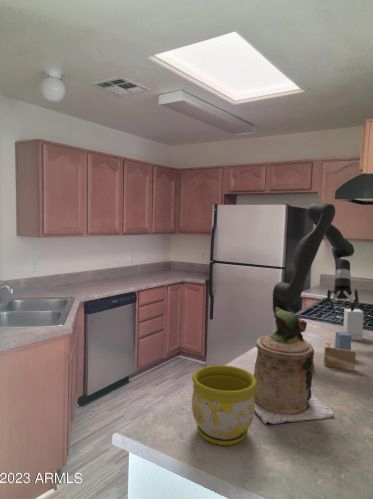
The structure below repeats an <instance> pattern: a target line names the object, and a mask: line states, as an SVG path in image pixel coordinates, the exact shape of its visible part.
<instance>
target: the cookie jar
mask: <svg viewBox="0 0 373 499" xmlns="http://www.w3.org/2000/svg"><path fill="white" fill-rule="evenodd" d="M294 313H295V312H294ZM294 313H292V312H287V311H283V310H282V309H280V308H276V311H275V314H276V320H275V322H276V325H277V331H276V332H274V333H273V332H272V333H273V334H272V335H271V334H270V335H264V336H261V337H258V338H257V340H256V342H255V346H256V349H257V353H256V359H255V364H254V371H253V376H254V377H255V378H256V382H257V384H256V387H255V393H254V397H255V413H256V414H257V416H259V417H260V419H261V421H262V423H263V424H264V425H266V424H267V423H270V424H274V425H276V424H277V425H278V424H282V423H286V422H288V423H293V422H303V421H310V420H320V419H321V420H322V419H323V420H324V419H328V418H329V419H330V418H332V417H333V416H334V410H332V408H331V407H329V406H328V405H327V404H325V403H323V402H322V401H321V400H320V399H319V398H318V397H317V396H315V395H314V394H312V389H311V388H312V380H313V375H314V373H315V362H314V355H315V350H314V347H313V345H312V343H310V342H308V341H306V340H305V339H304V336H303V334H302V333H304V332H306V329H307V326H308V325H307V324H308V323H307V321H305V319H299V317H298V315H296V313H295V314H294Z"/></svg>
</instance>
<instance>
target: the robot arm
mask: <svg viewBox="0 0 373 499" xmlns="http://www.w3.org/2000/svg"><path fill="white" fill-rule="evenodd" d="M335 215H336V207H335V205H333V204H332V203H326V202H325V203H323V202H313V203H311V204H310V205H309V207H308V209H307V216H308V219H309V220H310V222H312V223H313V225H315V227H314V228H313V229H312V231H310V232H309V233H308V234H306V235H305V236H304V237H302V239H301V240H300V241H299V242H298V244H297V246H296V248H295V250H294V253H293V257H292V258H293V266H294V267H293V268H294V273H293V276H292V278H291V281H290V282H289V283H288V282H283V281H279V282H276V284H275V285H274V288H273V290H272V312H273V328H272V329H273V332H271V334H270V335H272V334H273V333H274V332H276V331H277V325H276V322H275V320H276V314H275V311H276V308H280V309H282V310H283V311H287V312H292V313H294V314H295V315H296V313H295V311H293V309H292V308H291V307H290V306H294V305H296V304H297V303H298V301H299V300H300V298H301V297H302V292H303V290H304V287H305V286H304V285H305V283H306V280H307V277H308V275H309V272H310V269H311V267H312V265H313V262H314V261H315V258H316V256H317V254H318V251H319V248H320V246H321V245H322V244H321V243H322V242H323V239H324V237H325V238H326V239H327V241H328V242H329V244H330V245H331V246H332V248H331V253H332V257H333V259H334V264H335V268H334V269H335V270H334V289H333V290H331V289H328V290H327V292H326V293H327V294H326V296H327V297H326V301H327V302H328V303H329V304H330V309H331V310H332V311H333V312H334V311H335V302H337V301H338V300H344V301H346V300H348V301H349V302H350V309H351V312H353V310H354V309H355V304H358V303H359V301H360V300H359V292H358V290H357V289H355V290H352V288H351V286H352V284H351V283H352V282H351V281H352V275H351V262H350V261H349V260H348V259H344V258H348V257H352V256H353V255H354V253H355V247H354V246H353V244H352V243H351V242H350V241H349V240H348V239H347V238H345V237H344V236H343V234H342V232H341V231H340V229H338V228H337V227H336V226H335V225H333V224H332V223H333V220H334V219H335ZM333 294H334V295H333ZM332 295H333V297H331V296H332ZM351 295H353V296H354V299H353V298H352V297H351Z"/></svg>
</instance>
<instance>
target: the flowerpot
mask: <svg viewBox="0 0 373 499" xmlns="http://www.w3.org/2000/svg"><path fill="white" fill-rule="evenodd" d="M192 374H193V375H192V382H193V387H192V388H193V392H192V396H191V397H192V398H191V410H192V411H191V412H192V415H193V418H194V420H195V423H196V424H197V425H196V426H197V427H196V429H197V431H198V434H200V435H201V437H202V439H204V440H205V441H207V442H208V441H209V442H208V443H210V442H211V443H210V444H213V443H214V444H213V445H216V444H218V445H217V446H221V445H229V446H233V445H232V444H234V445H237V444H239V443H241V442H242V441H243V440H244V439H245V438H246V437H247V435H248V433H249V432H248V429H249V428H250V426H251V425H252V422H253V420H254V417H255V413H256V412H255V397H254V393H255V387H256V384H257V382H256V378H255V377H254V374H253V373H251V372H250V371H248V370H246V369H243V368H241V367H237V366H233V365H223V364H222V365H221V364H219V365H218V364H217V365H215V364H213V365H208V366H205V367H204V366H203V367H201V368H198V369H196V370H195V371H194V373H192ZM241 440H242V441H241ZM238 442H239V443H238ZM236 443H237V444H236Z"/></svg>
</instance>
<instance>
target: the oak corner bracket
mask: <svg viewBox="0 0 373 499" xmlns="http://www.w3.org/2000/svg"><path fill="white" fill-rule="evenodd" d="M356 352H357V351H356V350H353V349H351V350H345V349H339V348H335V347H332V346H331V340H328V339H326V340H325V345H324V354H323V356H324V357H323V366H324V367H331V368H335V369H341V370H346V371H347V370H348V371H353V372H355V369H356V358H357V357H356V356H357V354H356Z"/></svg>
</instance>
